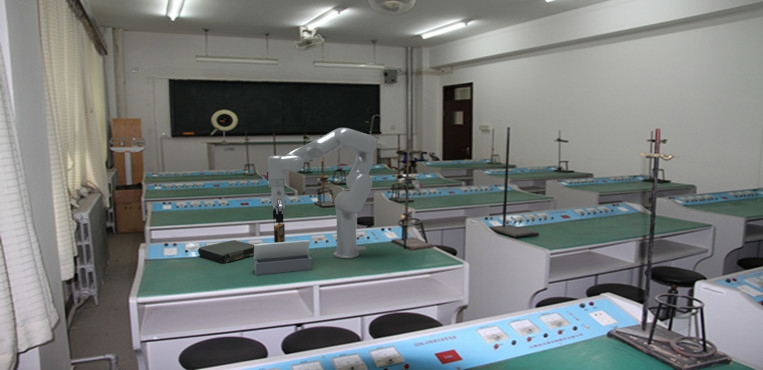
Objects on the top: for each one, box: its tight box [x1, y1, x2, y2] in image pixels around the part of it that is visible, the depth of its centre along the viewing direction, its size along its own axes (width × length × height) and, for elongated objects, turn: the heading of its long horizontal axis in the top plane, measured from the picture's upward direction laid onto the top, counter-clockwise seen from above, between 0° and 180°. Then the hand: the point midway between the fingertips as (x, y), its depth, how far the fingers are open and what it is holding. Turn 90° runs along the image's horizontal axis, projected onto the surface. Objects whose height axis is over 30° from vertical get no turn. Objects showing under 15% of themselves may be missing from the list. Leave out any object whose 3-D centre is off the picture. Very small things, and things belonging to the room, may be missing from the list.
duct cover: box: [253, 239, 311, 260], centre depth 212 cm, size 24×9×1 cm
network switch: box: [198, 239, 254, 264], centre depth 233 cm, size 23×23×5 cm
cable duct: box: [253, 253, 313, 276], centre depth 210 cm, size 24×7×5 cm, turn 111°
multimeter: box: [273, 222, 286, 243], centre depth 243 cm, size 15×10×20 cm
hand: (278, 220), depth 218 cm, fingers open, 8 cm apart
